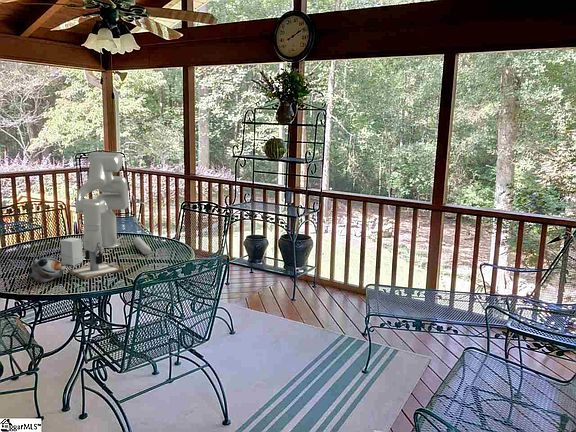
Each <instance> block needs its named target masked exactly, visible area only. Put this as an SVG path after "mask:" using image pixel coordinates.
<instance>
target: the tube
mask: <svg viewBox="0 0 576 432" xmlns="http://www.w3.org/2000/svg"><path fill="white" fill-rule="evenodd" d="M132 244H133V245H134V246H135V247H136V248H137V249H138V250H139V252H140V253H142V254H143V255H145V256H148V255H150V254H151V252H152V249H151V247H150V246H149V245H148V244H147V243H146V242H145V241H144V240H143V238H141V237H140V236H136V237H133V240H132Z"/></svg>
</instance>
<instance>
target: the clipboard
mask: <svg viewBox="0 0 576 432" xmlns="http://www.w3.org/2000/svg"><path fill="white" fill-rule="evenodd" d="M115 272H119V273H122V272H125V271H124V269H123V268H121V267H119V266H118V265H117V264H115V263H112V262H111V263H109V262H103V263H101V264H99V270H98V271H90V265H88V266H84V267H78V268H75V269H71V270H70V269H69V270H68V272H67V273H68V274H70V275H73V276H75V277H77V278H80V279H82V280H84V281H87V280H88V279H89V280H92V279H91V278H93V279H95V278H94V277H97V278H99V277H98V276H101V277H103V276H102V275H106V274H109V273H114V274H116V273H115ZM106 276H107V275H106Z"/></svg>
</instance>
